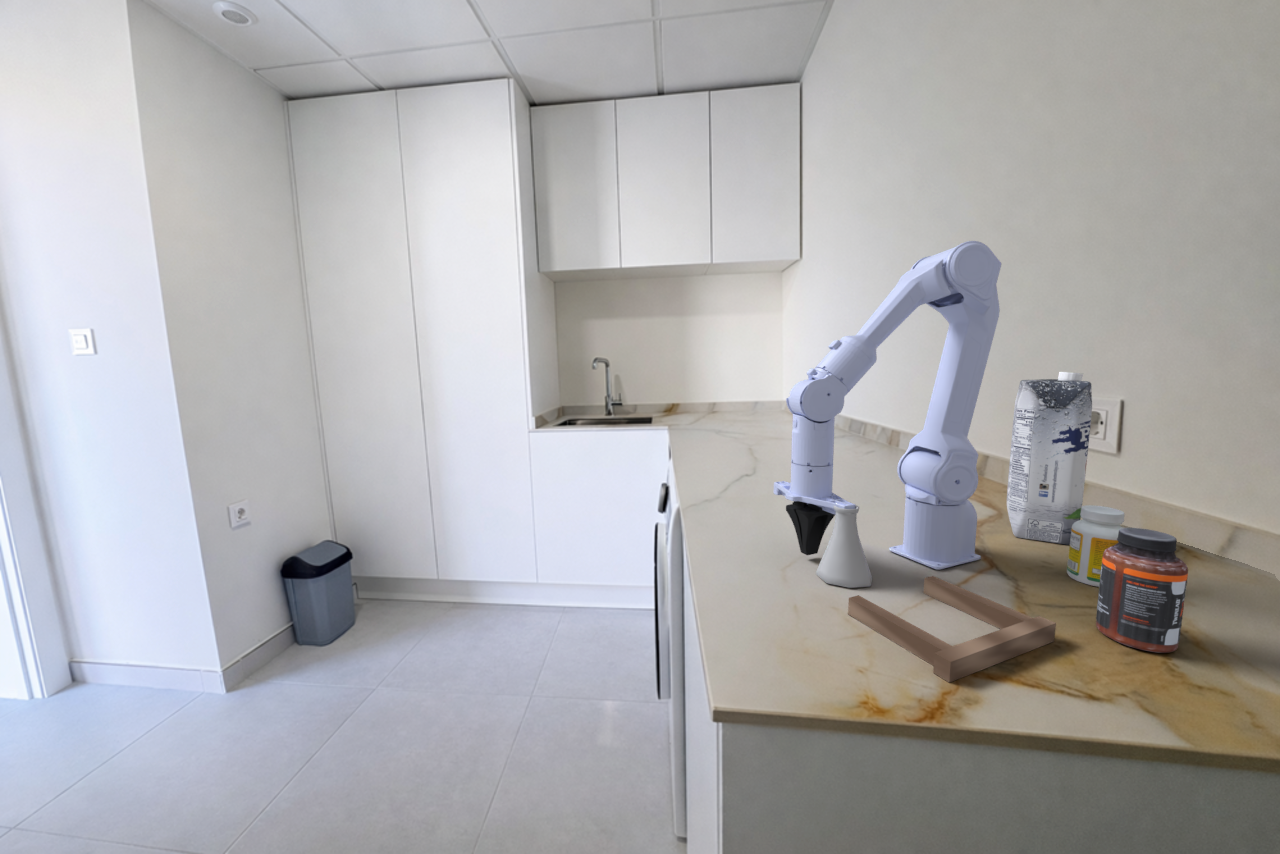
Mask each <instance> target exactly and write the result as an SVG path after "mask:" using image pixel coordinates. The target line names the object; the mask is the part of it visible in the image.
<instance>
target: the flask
mask: <svg viewBox="0 0 1280 854" xmlns="http://www.w3.org/2000/svg"><path fill="white" fill-rule="evenodd" d="M855 505H856V509H844V508H839V507H837V506H835V505H834V510H835V511H836V515H835V516H834V518H835V521H834V524H833V529H832V533H831V536H830V538H829V541H828V543H827V547H826V548H825V551H824V553H823V555H822V558H821V559H820V562H819V564H818V567H817V569H816V571H815V575H816V576H817V577H819V578H820V579H821V580H822V581H823V582H824V583H826V584H830V585H834V586H840V587H844V588H849V589H852V588H865V587H871V586H872V581H873V576H872V572H871V570H870V566H869V564H868V561H867V558H866V555H865V552H864V549H863V546H862V541H861V538H860V536H859V530H858V522H857V516H858V513H859V510H860V506H859V505H857V504H855Z"/></svg>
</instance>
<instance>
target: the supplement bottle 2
mask: <svg viewBox="0 0 1280 854" xmlns="http://www.w3.org/2000/svg"><path fill="white" fill-rule="evenodd" d="M1117 541H1118V543H1117V544H1115V545H1114V546H1111V547H1109V548H1107V549H1106V550H1105V551H1104V553H1103V558H1102V567H1101V576H1100V585H1099V587H1098V595H1097V596H1098V598H1097V605H1096V614H1095V627H1096V628H1097V630H1098V631H1099V632H1100V633H1101V634H1102V635H1104V636H1106V637H1107V638H1109V639H1111V640H1113V641H1115V642H1116V643H1118V644H1121V645H1123V646H1126V647H1130V648H1133V649H1136V650H1140V651H1144V652H1151V653H1159V654H1166V653H1173V652H1175V651H1177V650H1178V648H1179V643H1180V641H1181V629H1182V623H1183V616H1184V615H1183V614H1184V606H1185V599H1186V591H1187V585H1188V577H1189V567H1188V566H1187V563H1185V562H1184V561H1183V560H1182V559H1181V558H1179V557H1177V555H1176V551H1177V542H1178V541H1177V538H1176V537H1175V536H1173V535H1172V534H1169V533H1166V532H1162V531H1158V530H1153V529H1147V528H1142V527H1139V528H1138V527H1123V528H1121V529H1119V533H1118V538H1117Z"/></svg>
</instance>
